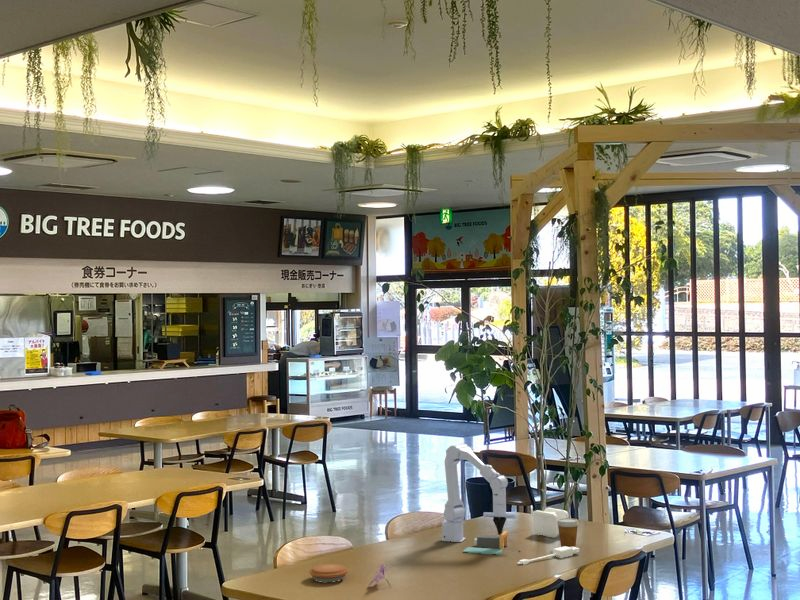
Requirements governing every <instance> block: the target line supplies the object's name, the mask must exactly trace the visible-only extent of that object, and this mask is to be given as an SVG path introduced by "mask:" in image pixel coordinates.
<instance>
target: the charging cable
mask: <svg viewBox="0 0 800 600" xmlns="http://www.w3.org/2000/svg"><path fill="white" fill-rule="evenodd" d="M576 553H580V547H573V546H572V547H567V546H563V547H561V546H559V547H556V548H553V549H552V554H548V555H544V556H540V557H535V558H531V559H525V558H522V559H519V560H518V562H516V564H518V565H522V564H523V566H524V565H528V564H529V563H531V562H533V561H537V560H541V559H545V558H546V559H547V558H549V557H550V558H551V557H555V556H556V557H555V558H558V557H560V558H559V559H565V558H568V556H569V557H572V556H573V555H574V554H576ZM564 557H565V558H564Z"/></svg>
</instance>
